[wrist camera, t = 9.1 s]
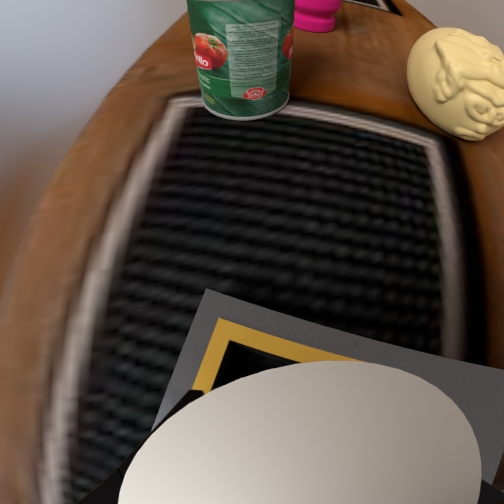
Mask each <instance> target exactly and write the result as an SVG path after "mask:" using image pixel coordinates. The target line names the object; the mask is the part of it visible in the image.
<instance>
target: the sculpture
mask: <svg viewBox="0 0 504 504" xmlns="http://www.w3.org/2000/svg"><path fill="white" fill-rule="evenodd" d="M407 81H408V86H409V90H410V93H411V95H412V97H413V99H414V101H415V103H416V104H417V106H418V107H419V109H420V110H421V111H422V112H423V114H424V115H425V116H426V117H427V118H428V119H429V120H430V121H431V122H432V123H434V124H435V125H436V126H438V127H439V128H441V129H442V130H444V131H446V132H448V133H450V134H452V135H454V136H457V137H460V138H463V139H465V140H473V141H479V140H483V139H484V138H485V136H487V135H490V134H492V133H494V132H495V131H497V130H499V129H500V128H502V127H503V126H504V55H503V54H502V52H501V50H500V49H499V48H498V47H497V46H495V45H492V44H490V43H489V42H488V41H487V40H486V39H485V38H484V37H482V36H475V35H474V34H472V33H469V32H467V31H464V30H462V29H459V28H458V29H457V28H437V29H434V30H431V31H429V32H427V33H425V34H424V35H423V36H421V37H420V38H419V39H418V40H417V42H416V43H415V44H414V46H413V48H412V50H411V52H410V54H409V58H408V62H407Z"/></svg>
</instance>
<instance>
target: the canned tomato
mask: <svg viewBox="0 0 504 504" xmlns="http://www.w3.org/2000/svg"><path fill="white" fill-rule="evenodd" d="M187 6H188V13H189V21H190V26H191V28H190V29H191V32H192V39H193V47H194V54H195V58H196V64H197V71H198V78H199V84H200V89H201V94H202V102H203V105H204V106H205V107H206V109H207V110H209V111H210V112H211V113H213V114H215V115H217V116H219V117H222V118H226V119H231V120H243V121H245V120H256V119H261V118H265V117H268V116H271V115H273V114H275V113H277V112H279V111H280V110H281V109H283V108H284V107H285V105H286V104H287V102H288V100H289V85H290V75H291V60H292V45H293V28H294V18H295V15H294V11H295V0H187Z"/></svg>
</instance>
